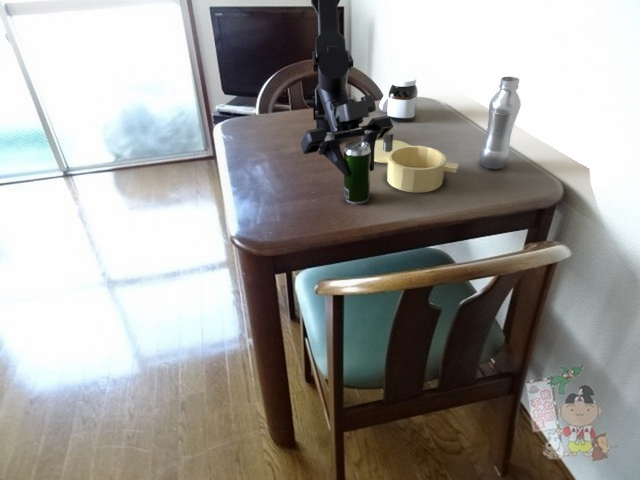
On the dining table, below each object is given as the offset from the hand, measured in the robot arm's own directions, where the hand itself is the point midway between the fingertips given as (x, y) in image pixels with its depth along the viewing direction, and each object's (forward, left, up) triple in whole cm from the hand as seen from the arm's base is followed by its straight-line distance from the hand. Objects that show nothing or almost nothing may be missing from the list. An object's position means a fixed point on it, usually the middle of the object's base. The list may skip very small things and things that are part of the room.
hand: (360, 173), depth 87 cm
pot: (+8, +14, -7) cm, 17 cm away
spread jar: (-8, +52, -7) cm, 53 cm away
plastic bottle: (+23, +27, -7) cm, 36 cm away
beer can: (-1, +1, -7) cm, 7 cm away
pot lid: (-2, +25, -6) cm, 26 cm away
